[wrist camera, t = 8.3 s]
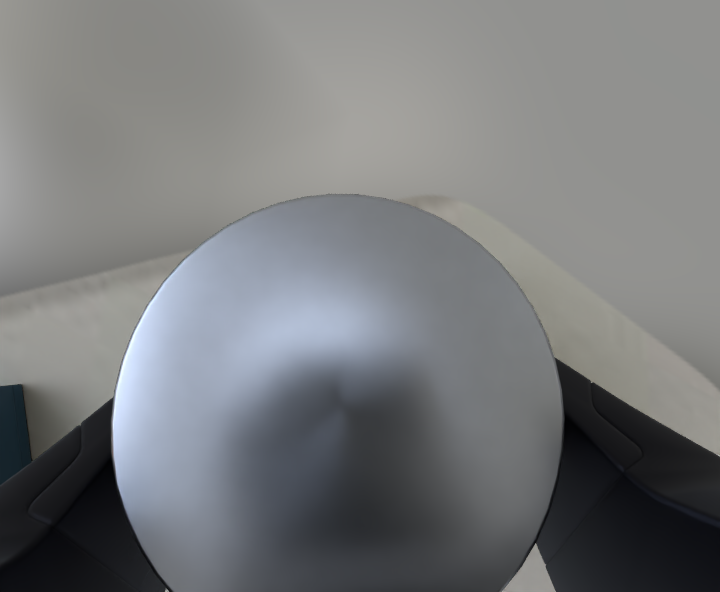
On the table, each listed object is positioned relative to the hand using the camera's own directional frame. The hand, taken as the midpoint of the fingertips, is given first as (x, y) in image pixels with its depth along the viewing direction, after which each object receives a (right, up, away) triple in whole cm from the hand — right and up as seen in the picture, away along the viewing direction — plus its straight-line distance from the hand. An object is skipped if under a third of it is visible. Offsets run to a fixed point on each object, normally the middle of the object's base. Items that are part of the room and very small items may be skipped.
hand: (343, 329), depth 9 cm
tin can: (0, -2, +6) cm, 7 cm away
